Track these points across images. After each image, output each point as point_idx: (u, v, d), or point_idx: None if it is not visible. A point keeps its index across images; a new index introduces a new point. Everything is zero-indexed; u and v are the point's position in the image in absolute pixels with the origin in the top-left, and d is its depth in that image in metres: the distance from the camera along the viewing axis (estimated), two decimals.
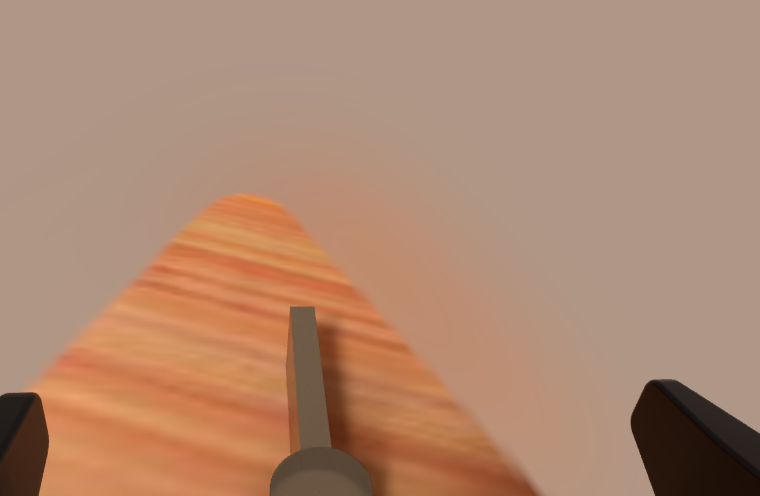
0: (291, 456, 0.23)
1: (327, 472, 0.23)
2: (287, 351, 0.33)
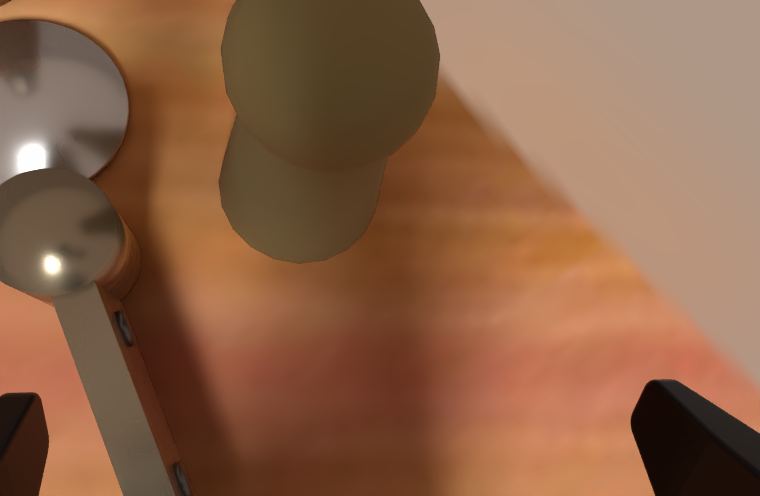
0: None
1: None
2: None
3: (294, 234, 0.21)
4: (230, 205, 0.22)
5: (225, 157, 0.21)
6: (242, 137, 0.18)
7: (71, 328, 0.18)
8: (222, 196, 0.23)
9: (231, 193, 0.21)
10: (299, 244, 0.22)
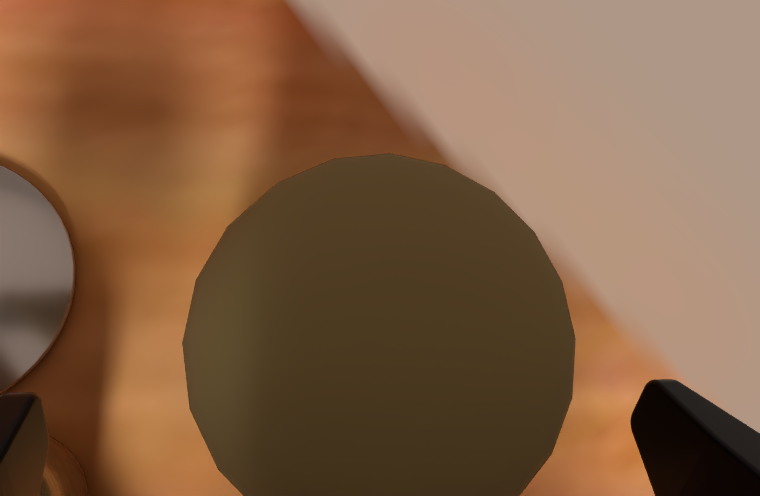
0: None
1: None
2: None
3: None
4: None
5: None
6: None
7: None
8: None
9: None
10: None
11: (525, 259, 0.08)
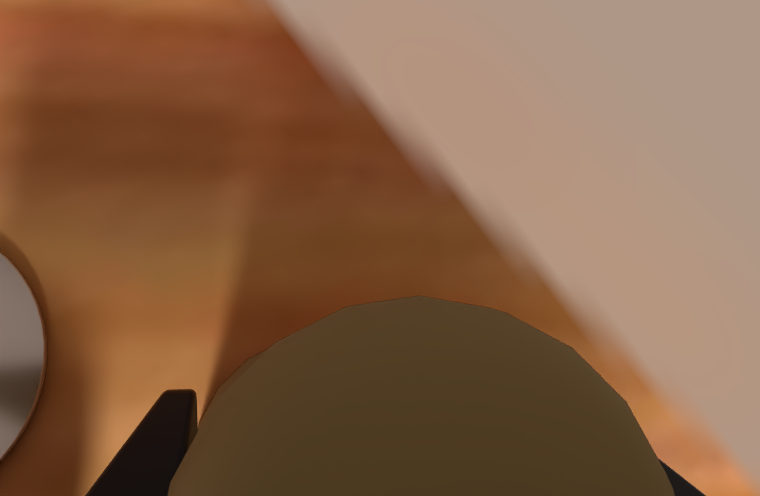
0: None
1: None
2: None
3: None
4: None
5: None
6: None
7: None
8: None
9: None
10: None
11: (629, 469, 0.06)
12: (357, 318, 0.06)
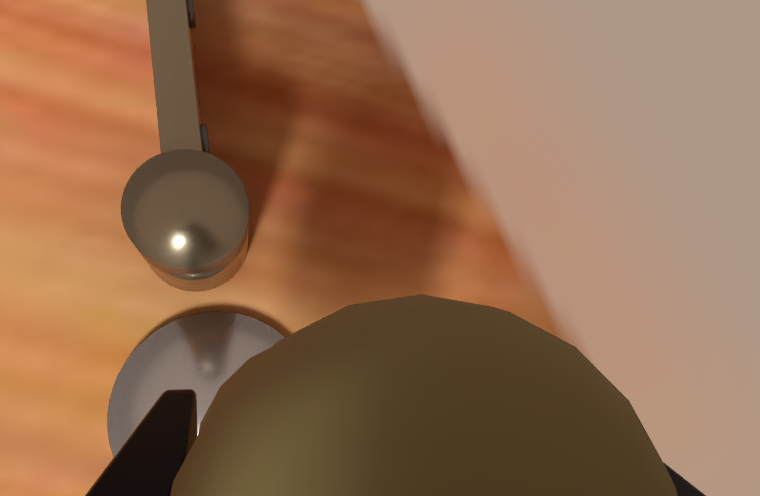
0: (146, 164, 0.18)
1: (193, 185, 0.19)
2: None
3: None
4: None
5: None
6: None
7: None
8: None
9: None
10: None
11: (632, 467, 0.06)
12: (360, 317, 0.06)
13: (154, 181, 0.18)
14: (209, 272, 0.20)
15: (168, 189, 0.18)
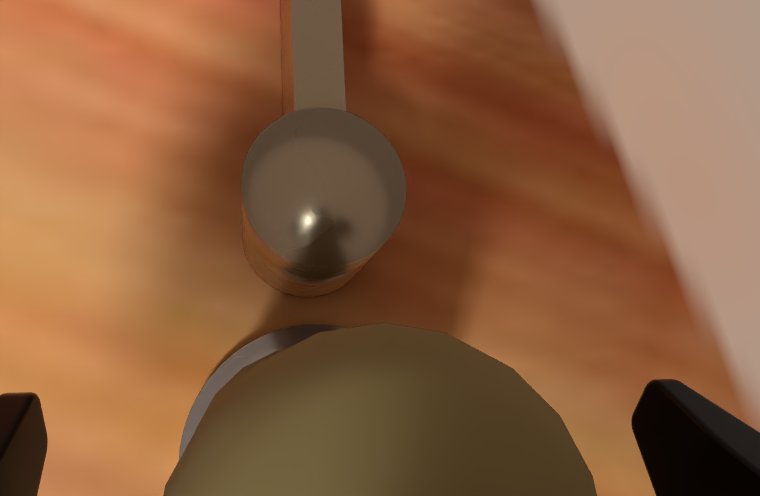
0: (278, 122, 0.14)
1: (336, 157, 0.14)
2: None
3: None
4: None
5: None
6: None
7: None
8: None
9: None
10: None
11: (553, 474, 0.07)
12: (325, 345, 0.07)
13: (287, 146, 0.14)
14: (338, 275, 0.15)
15: (304, 158, 0.14)
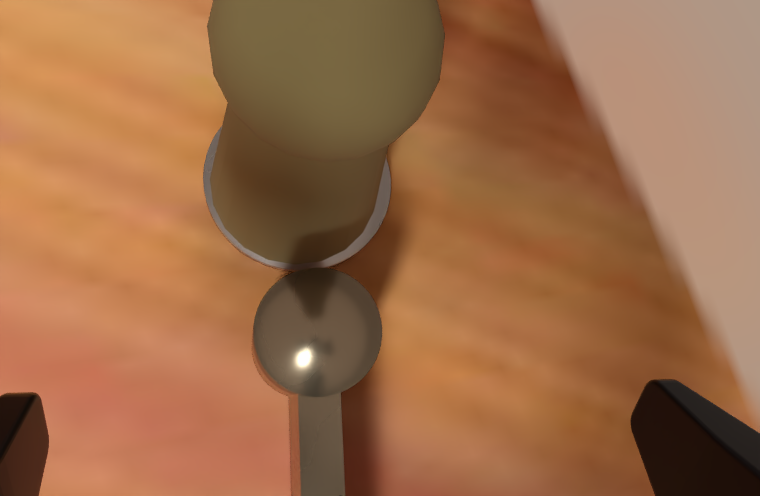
0: None
1: None
2: None
3: (289, 233, 0.20)
4: (221, 203, 0.21)
5: (216, 152, 0.20)
6: (232, 127, 0.16)
7: (306, 434, 0.17)
8: (213, 194, 0.22)
9: (222, 190, 0.20)
10: (294, 243, 0.20)
11: None
12: None
13: None
14: None
15: None
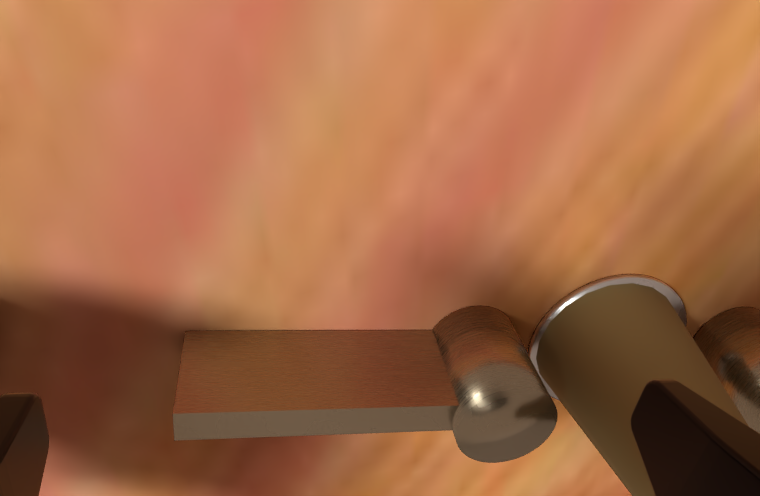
0: None
1: None
2: None
3: (579, 380, 0.23)
4: (614, 312, 0.24)
5: (662, 324, 0.23)
6: None
7: (427, 410, 0.21)
8: (620, 293, 0.24)
9: (628, 327, 0.23)
10: (565, 369, 0.24)
11: None
12: None
13: None
14: (734, 397, 0.25)
15: None
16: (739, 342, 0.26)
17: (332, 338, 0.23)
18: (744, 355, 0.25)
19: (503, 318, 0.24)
